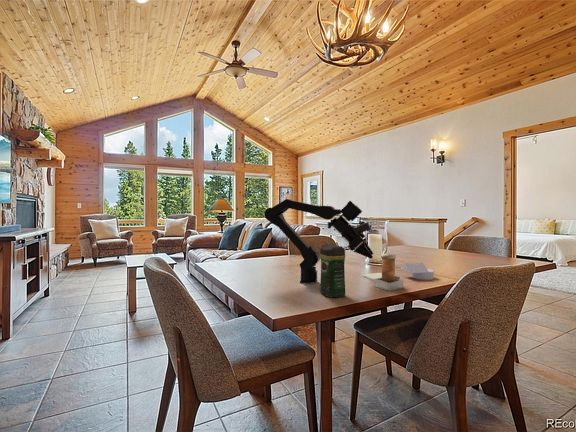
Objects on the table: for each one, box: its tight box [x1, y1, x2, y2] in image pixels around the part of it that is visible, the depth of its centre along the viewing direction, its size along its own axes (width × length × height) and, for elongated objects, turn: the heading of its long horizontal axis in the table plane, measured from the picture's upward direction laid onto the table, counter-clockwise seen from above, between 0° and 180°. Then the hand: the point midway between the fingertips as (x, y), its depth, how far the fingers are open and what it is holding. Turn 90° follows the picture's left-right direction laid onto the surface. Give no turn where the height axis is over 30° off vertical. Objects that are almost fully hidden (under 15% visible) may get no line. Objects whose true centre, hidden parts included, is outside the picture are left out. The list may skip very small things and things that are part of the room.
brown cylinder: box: [380, 253, 397, 282], centre depth 120 cm, size 6×6×13 cm
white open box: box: [373, 275, 404, 292], centre depth 121 cm, size 10×8×4 cm
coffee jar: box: [319, 243, 346, 298], centre depth 111 cm, size 10×8×19 cm
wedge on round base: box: [400, 262, 435, 281], centre depth 137 cm, size 9×7×13 cm
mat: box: [360, 272, 382, 282], centre depth 137 cm, size 11×11×1 cm
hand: (372, 256), depth 122 cm, fingers open, 9 cm apart
